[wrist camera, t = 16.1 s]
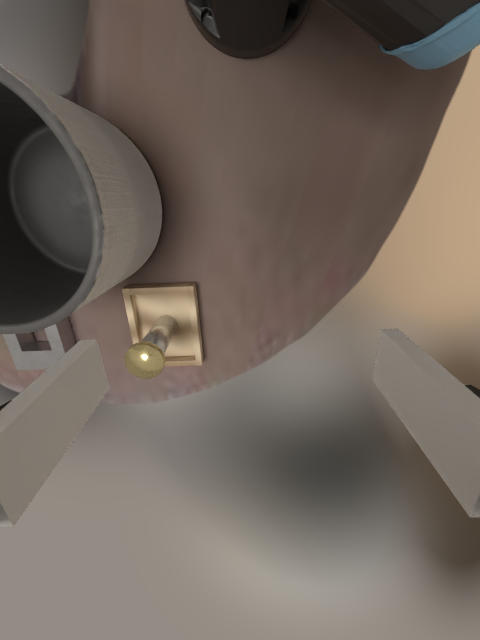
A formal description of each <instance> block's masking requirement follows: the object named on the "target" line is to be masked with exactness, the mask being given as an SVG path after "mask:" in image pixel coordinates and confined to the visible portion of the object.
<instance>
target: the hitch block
mask: <svg viewBox="0 0 480 640" xmlns="http://www.w3.org/2000/svg"><path fill="white" fill-rule="evenodd" d="M44 329H45V332H46V334H47V337H48V340H49V341H40V342H36V340H35V337H34V335H33V332H28V333H21V334H3V336H4V339H5V341H6V344H7V346H8V348H9V351H10V353H11V356H12V358H13V361H14V363H15V366H16V368H17V370H36V369H48V368H49V367H51V366H52V365H53V364H54V363H55V362H56V361H57V360H59V359H60V358H61V357H62V356H63V355H64V354H65V353H67V352H68V351H69V350H70V349H71V348H72V347H73V346H75V345H76V340H75V337H74V334H73V330H72V327H71V324H70V320H69V317H67V318H65V319H63V320H62V321H60V322H58V323H56V324H54V325H52V326H49V327H47V328H44Z"/></svg>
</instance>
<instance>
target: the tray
mask: <svg viewBox="0 0 480 640" xmlns="http://www.w3.org/2000/svg"><path fill="white" fill-rule="evenodd" d="M122 293H123V297H124V302H125V307H126V312H127V316H128V321H129V326H130V330H131V335H132V340H133V345H134V344H135V343H138V342H141V341H142V340H143V339H144V337H145V336H146V334H147V333H148V332H149V330H150V329H151V327H152V326H153V325H154V323H155V322H156V321H157V319H158V318H159V317H160V316H163V315H169V316H171V317H173V318H174V319H175V320H176V322H177V325H178V327H177V330H176V332H175V334H174V336H173V338H172V340H171V342H170V344H169V346H168V348H167V350H166V352H165V354H164V355H165V365H164V367H165V366H195V365H202V364H203V359H204V356H203V347H202V337H201V328H200V319H199V309H198V300H197V291H196V282H186V283H161V284H136V285H126V286H125V287H124V288H122Z"/></svg>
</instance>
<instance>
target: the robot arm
mask: <svg viewBox="0 0 480 640" xmlns="http://www.w3.org/2000/svg"><path fill="white" fill-rule="evenodd" d="M310 1H311V0H185V3H186V6H187V9H188V11H189V14H190V16H191V18H192V20H193V22H194V23H195V25H196V27H197V28H198V30H199V31H200V32H201V34H202V35H203V36H204V37H205V39H206V40H207V41H208V42H209V43H211V44H212V45H213V46H214V47H216V48H217V49H218V50H220V51H222V52H224V53H226V54H228V55H231V56H234V57H238V58H256V57H260V56H264V55H266V54H269V53H271V52H273V51H274V50H276V49H277V48H279V47H280V46H281V45H283V44H284V43H285V42H286V41H287V40H288V39H289V38H290V37H291V36H292V35H293V33H294V32H295V31H296V29H297V28H298V26H299V25H300V23H301V21H302V20H303V18H304V16H305V14H306V12H307V9H308V7H309V4H310ZM320 1H322V2H323V3H324V4H326V5H327V6H328V7H330V8H331V9H332V10H334V11H335V12H336V13H338V14H339V15H340V16H342V17H343V18H345V19H346V20H347V21H349V22H350V23H351V24H353V25H354V26H355V27H357V28H358V29H359V30H361V31H362V32H363V33H365V34H366V35H368V36H369V37H370V38H372V39H373V40H374V41H376V42H377V43H378V47H379V49H380V50H381V51H382V52H384V53H385V54H390V55H395V56H396V57H398V58H400V59H401V60H403V61H404V62H406V63H407V64H409V65H410V66H412V67H414V68H416V69H419V70H424V69H428V70H429V69H436V68H440V67H442V66H445V65H447V64H449V63H451V62H453V61H455V60H457V59H458V58H460V57H462V56H463V55H465V54H466V53H468V52H469V51H471V50H472V49H474V48H475V47H476V46H478V45H479V44H480V0H320ZM372 380H373V382H374V383H375V384H376V385H377V387H378V388H379V390H380V391H381V393H382V394H383V396H384V397H385V398H386V400H387V401H388V403H389V404H390V405H391V407H392V408H393V410H394V411H395V413H396V414H397V415H398V416H399V418H400V420H401V421H402V422H403V424H404V425H405V426H406V428H407V429H408V431H409V432H410V434H411V435H412V436H413V438H414V439H415V441H416V442H417V443H418V445H419V446H420V448H421V449H422V450H423V452H424V453H425V455H426V456H427V457H428V459H429V460H430V462H431V463H432V465H433V466H434V467H435V469H436V470H437V472H438V473H439V474H440V476H441V477H442V479H443V480H444V481H445V483H446V484H447V485H448V487H449V488H450V490H451V491H452V493H453V494H454V495H455V497H456V498H457V500H458V501H459V502H460V504H461V505H462V507H463V508H464V509H465V511H466V512H467V514H468V515H469V516H470V517H480V390H479V389H477V388H475V387H473V386H472V385H463V384H462V383H461V382H460V381H459V380H457V379H456V378H455V377H454V376H453V375H452V374H450V373H449V372H448V371H447V370H446V369H444V368H443V367H442V366H441V365H440V364H439V363H437V362H436V361H435V360H434V359H433V358H431V357H430V356H429V355H428V354H427V353H426V352H424V351H423V350H422V349H421V348H420V347H418V346H417V345H416V344H415V343H414V342H412V341H411V340H410V339H409V338H408V337H406V336H405V335H404V334H403V333H402V332H401V331H399V330H398V329H381V330H380V336H379V342H378V348H377V355H376V360H375V367H374V373H373V379H372ZM109 389H110V387H109V383H108V380H107V376H106V372H105V368H104V365H103V361H102V357H101V353H100V350H99V346H98V342H97V340H80V341H79V342H78V343H77V344H76V345H75V346H73V347H72V348H71V349H70V350H69V351H68V352H67V353H65V354H64V355H63V356H62V357H61V358H60V359H59V360H57V361H56V362H55V363H54V364H53V365H52V366H51V367H49V368H48V369H47V370H46V371H45V372H44V373H43V374H42V375H40V376H39V377H38V378H37V379H36V380H35V381H34V382H32V383H31V384H30V385H29V386H28V387H27V388H26V389H24V390H23V391H22V392H21V393H20V394H19V395H18V396H16V397H15V398H14V399H13V400H11V401H9V402H7V403H5V404H4V405H2V406H0V527H4V526H14V525H15V523H16V522H17V520H18V519H19V518H20V516H21V515H22V513H23V512H24V510H25V509H26V508H27V506H28V505H29V503H30V502H31V501H32V499H33V498H34V496H35V495H36V493H37V492H38V491H39V489H40V488H41V486H42V485H43V483H44V482H45V480H46V479H47V477H48V476H49V475H50V473H51V472H52V470H53V469H54V467H55V466H56V465H57V463H58V461H59V460H60V459H61V458H62V456H63V455H64V453H65V452H66V450H67V449H68V447H69V446H70V445H71V443H72V442H73V440H74V439H75V437H76V436H77V434H78V433H79V432H80V430H81V429H82V427H83V426H84V424H85V423H86V422H87V420H88V419H89V417H90V416H91V414H92V413H93V412H94V410H95V409H96V407H97V406H98V404H99V403H100V402H101V400H102V399H103V397H104V396H105V394H106V393H107V392H108V390H109Z"/></svg>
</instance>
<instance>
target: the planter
mask: <svg viewBox="0 0 480 640" xmlns="http://www.w3.org/2000/svg"><path fill="white" fill-rule="evenodd" d="M161 226H162V203H161V197H160V192H159V189H158V185H157V182H156V179H155V177H154V175H153V172H152V170H151V168H150V166H149V164H148V163H147V161H146V160H145V158H144V156H143V155H142V154H141V152H140V151H139V150H138V148H137V147H136V146H135V145H134V144H133V143H132V141H131V140H130V139H129V138H128V137H127V136H126V135H124V134H123V133H122V132H121V131H120V130H119V129H117V128H116V127H115V126H114V125H112V124H111V123H109V122H108V121H106V120H105V119H103V118H101V117H100V116H98V115H96V114H94V113H92V112H90V111H88V110H87V109H85V108H83V107H81V106H79V105H77V104H75V103H73V102H71V101H69V100H67V99H65V98H63V97H62V96H60V95H58V94H56V93H54V92H52V91H50V90H48V89H46V88H45V87H43V86H41V85H39V84H37V83H35V82H33V81H31V80H30V79H28V78H25V77H24V76H22V75H20V74H18V73H17V72H15V71H13V70H11V69H9V68H7V67H6V66H4V65H2V64H0V334H21V333H28V332H34V331H38V330H41V329H44V328H47V327H49V326H52V325H54V324H56V323H58V322H60V321H62V320H63V319H65V318H67V317H68V316H70V315H71V314H73V313H74V312H76V311H77V310H79V309H80V308H82V307H83V306H85V305H86V304H88V303H89V302H91V301H92V300H94V299H95V298H97V297H98V296H100V295H101V294H103V293H104V292H106V291H108V290H109V289H111V288H112V287H114V286H116V285H117V284H119V283H120V282H122V281H123V280H125V279H126V278H128V277H130V276H131V275H132V274H134V273H135V272H136V271H138V270H139V269H140V268H141V267H142V266H143V265H144V264H145V262H146V261H147V260H148V259H149V257H150V256H151V254H152V252H153V251H154V249H155V247H156V244H157V242H158V239H159V235H160V231H161Z"/></svg>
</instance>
